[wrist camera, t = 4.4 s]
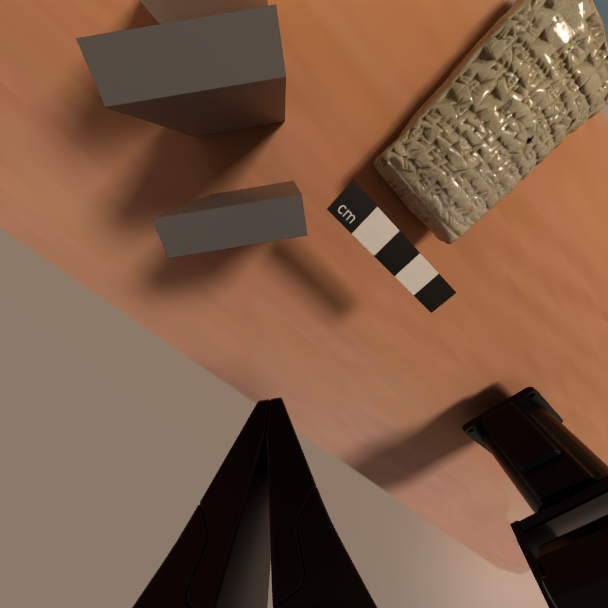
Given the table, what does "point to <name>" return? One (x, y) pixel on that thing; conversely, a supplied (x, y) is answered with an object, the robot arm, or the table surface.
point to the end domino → (195, 8)
